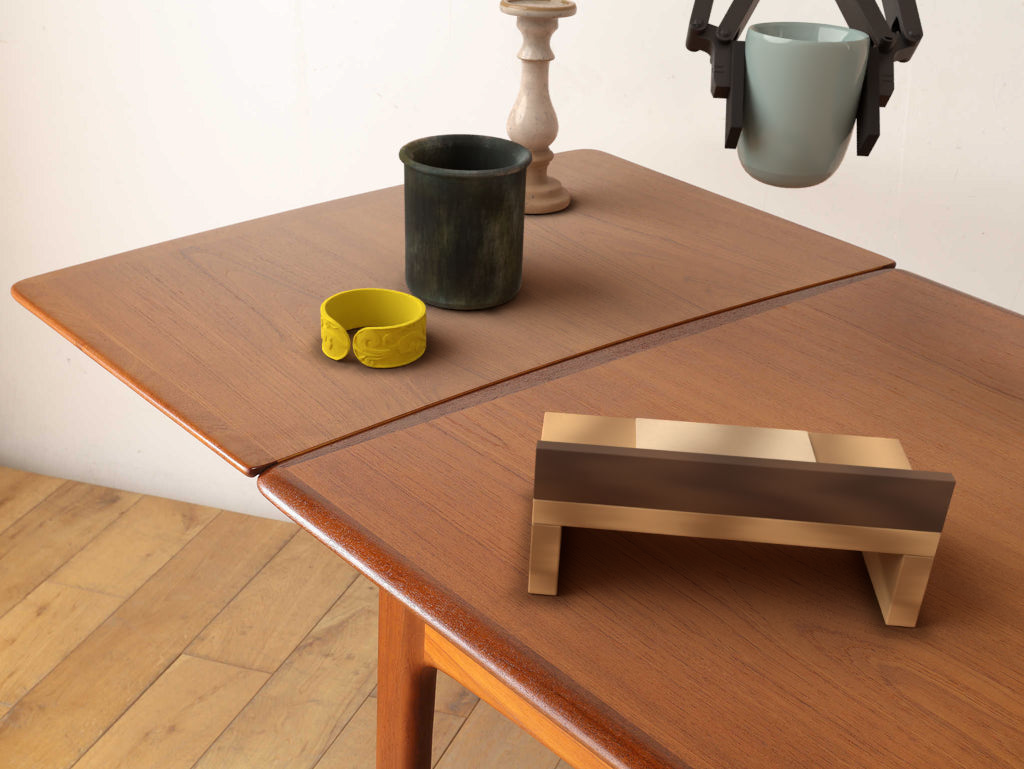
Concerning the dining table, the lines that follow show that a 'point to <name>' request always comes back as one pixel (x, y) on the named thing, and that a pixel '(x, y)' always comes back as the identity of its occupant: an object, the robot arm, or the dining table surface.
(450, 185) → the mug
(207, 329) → the dining table surface
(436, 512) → the dining table surface
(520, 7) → the candle holder
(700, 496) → the shelf
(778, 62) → the cup
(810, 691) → the dining table surface
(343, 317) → the bracelet
